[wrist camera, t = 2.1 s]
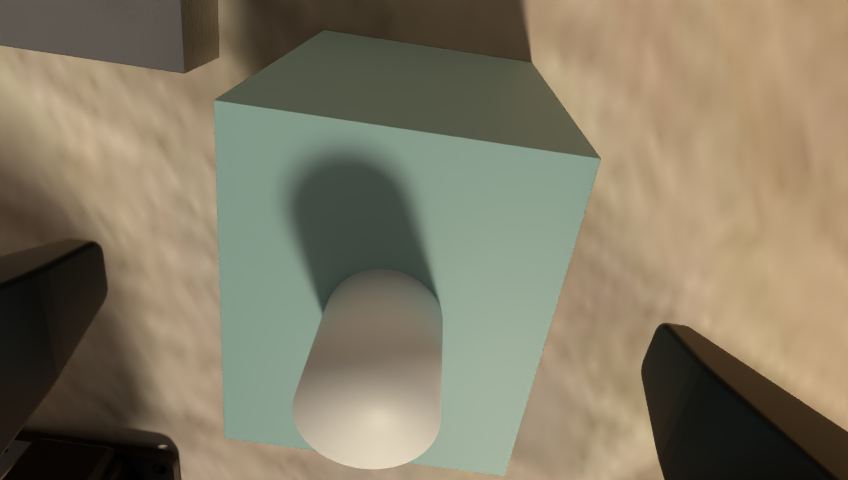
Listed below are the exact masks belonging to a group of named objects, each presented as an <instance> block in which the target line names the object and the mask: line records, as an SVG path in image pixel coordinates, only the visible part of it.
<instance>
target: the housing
mask: <svg viewBox="0 0 848 480" xmlns="http://www.w3.org/2000/svg"><path fill="white" fill-rule="evenodd" d="M214 120H215V151H216V183H217V214H218V245H219V277H220V308H221V340H222V371H223V402H224V434H225V438H227V439H235V440H242V441H249V442H257V443H264V444H272V445H279V446H286V447H294V448H301V449H309V450H316V451H317V452H318V453H320V454H322V455H323V456H325V457H326V458H329V459H331V460H333V461H335V462H338V463H340V464H343V465H347V466H350V467H356V468H362V469H384V468H390V467H395V466H399V465H402V464H405V463H412V464H420V465H427V466H434V467H442V468H449V469H457V470H464V471H471V472H479V473H486V474H494V475H501V476H505V473H506V470H507V466H508V463H509V460H510V457H511V453H512V450H513V447H514V443H515V440H516V437H517V434H518V430H519V427H520V424H521V420H522V417H523V414H524V411H525V407H526V404H527V401H528V397H529V394H530V391H531V387H532V384H533V381H534V378H535V374H536V371H537V368H538V364H539V361H540V358H541V355H542V351H543V348H544V345H545V341H546V338H547V335H548V332H549V328H550V325H551V322H552V318H553V315H554V312H555V309H556V305H557V302H558V299H559V295H560V292H561V289H562V286H563V282H564V279H565V276H566V272H567V269H568V266H569V263H570V259H571V256H572V253H573V249H574V246H575V243H576V239H577V236H578V233H579V230H580V226H581V223H582V220H583V216H584V213H585V210H586V207H587V203H588V200H589V197H590V193H591V190H592V187H593V184H594V180H595V177H596V174H597V170H598V167H599V164H600V161H601V158H600V157H599V155H598V154H597V153H596V151H595V150H594V148H593V147H592V146H591V144H590V143H589V141H588V140H587V139H586V137H585V136H584V135H583V133H582V132H581V130H580V129H579V128H578V126H577V125H576V123H575V122H574V121H573V119H572V118H571V116H570V115H569V114H568V112H567V111H566V109H565V108H564V107H563V105H562V104H561V102H560V101H559V100H558V98H557V97H556V95H555V94H554V93H553V91H552V90H551V88H550V87H549V86H548V84H547V83H546V81H545V80H544V79H543V77H542V76H541V74H540V73H539V72H538V70H537V69H536V67H535V66H534V65H533V63H532V62H526V61H520V60H513V59H507V58H501V57H494V56H488V55H481V54H475V53H469V52H462V51H456V50H449V49H443V48H436V47H430V46H424V45H417V44H411V43H404V42H398V41H392V40H385V39H379V38H372V37H366V36H360V35H353V34H347V33H340V32H334V31H327V30H323V31H322V32H320V33H319V34H317V35H315V36H314V37H312V38H311V39H309V40H308V41H306V42H304V43H303V44H301V45H300V46H298V47H297V48H295V49H293V50H292V51H290V52H289V53H287V54H286V55H284V56H282V57H281V58H279V59H278V60H276V61H275V62H273V63H271V64H270V65H268V66H267V67H265V68H264V69H262V70H260V71H259V72H257V73H256V74H254V75H253V76H251V77H249V78H248V79H246V80H245V81H243V82H242V83H240V84H238V85H237V86H235V87H234V88H232V89H231V90H229V91H227V92H226V93H224V94H223V95H221V96H220V97H218V98H216V99H215V100H214Z"/></svg>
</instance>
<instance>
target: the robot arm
mask: <svg viewBox="0 0 848 480" xmlns="http://www.w3.org/2000/svg"><path fill="white" fill-rule="evenodd" d="M107 290H108V285H107V277H106V270H105V263H104V255H103V250H102V247H101V245H100V244H98V243H97V242H96V241H91V240H84V239H77V238H68V239H64V240H60V241H57V242H53V243H49V244H45V245H42V246H38V247H34V248H30V249H27V250H23V251H19V252H16V253H12V254H8V255H4V256H1V257H0V480H180V472H179V461H178V458H177V457H176V456H175V455H174V454H173V453H171V452H169V451H166V450H161V449H153V448H146V447H139V446H131V445H124V444H116V443H109V442H101V441H94V440H86V439H79V438H71V437H64V436H56V435H49V434H41V433H34V432H26V431H20V430H21V429H22V428H23V426H24V425H25V424H26V422H27V421H28V419H29V418H30V417H31V415H32V414H33V413H34V411H35V410H36V409H37V407H38V406H39V405H40V403H41V402H42V401H43V399H44V398H45V397H46V395H47V394H48V393H49V391H50V390H51V388H52V387H53V386H54V384H55V383H56V381H57V380H58V379H59V377H60V375H61V374H62V372H63V371H64V369H65V368H66V366H67V364H68V363H69V361H70V359H71V357H72V356H73V354H74V352H75V351H76V349H77V347H78V346H79V344H80V342H81V340H82V339H83V337H84V335H85V334H86V332H87V330H88V328H89V327H90V325H91V323H92V322H93V320H94V318H95V317H96V315H97V313H98V311H99V310H100V308H101V306H102V305H103V303H104V301H105V298H106V296H107ZM641 375H642V381H643V386H644V391H645V396H646V401H647V406H648V411H649V416H650V421H651V426H652V431H653V436H654V441H655V446H656V450H657V455H658V459H659V463H660V466H661V469H662V473H663V476H664V479H665V480H848V432H847V431H846V430H844V429H843V428H841V427H840V426H838V425H837V424H835V423H834V422H832V421H831V420H829V419H827V418H826V417H824V416H823V415H821V414H820V413H818V412H817V411H815V410H814V409H812V408H811V407H809V406H808V405H806V404H805V403H803V402H802V401H800V400H799V399H797V398H796V397H794V396H793V395H791V394H790V393H788V392H787V391H785V390H784V389H782V388H781V387H779V386H778V385H776V384H775V383H773V382H772V381H770V380H769V379H767V378H765V377H764V376H762V375H761V374H759V373H758V372H756V371H755V370H753V369H752V368H750V367H749V366H747V365H746V364H744V363H743V362H741V361H740V360H738V359H737V358H735V357H734V356H732V355H731V354H729V353H728V352H726V351H725V350H723V349H722V348H720V347H719V346H717V345H716V344H714V343H713V342H711V341H710V340H708V339H707V338H705V337H703V336H702V335H700V334H699V333H697V332H696V331H694V330H693V329H691V328H690V327H688V326H685V325H678V324H671V323H663V324H661V325H659V326H658V327H657V329H656V331H655V333H654V336H653V338H652V341H651V343H650V345H649V348H648V350H647V353H646V355H645V357H644V360H643V363H642V369H641Z"/></svg>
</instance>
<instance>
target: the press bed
mask: <svg viewBox="0 0 848 480" xmlns="http://www.w3.org/2000/svg"><path fill="white" fill-rule="evenodd" d="M0 45H1V46H8V47H14V48H21V49H27V50H34V51H40V52H47V53H53V54H60V55H66V56H73V57H80V58H86V59H93V60H99V61H106V62H112V63H119V64H125V65H132V66H138V67H145V68H151V69H158V70H165V71H171V72H178V73H184V74H185V73H187V72H189V71H191V70H193V69H195V68H197V67H200V66H202V65H204V64H206V63H208V62H210V61H212V60H215V59H217V58H219V36H218V0H0Z"/></svg>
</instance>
